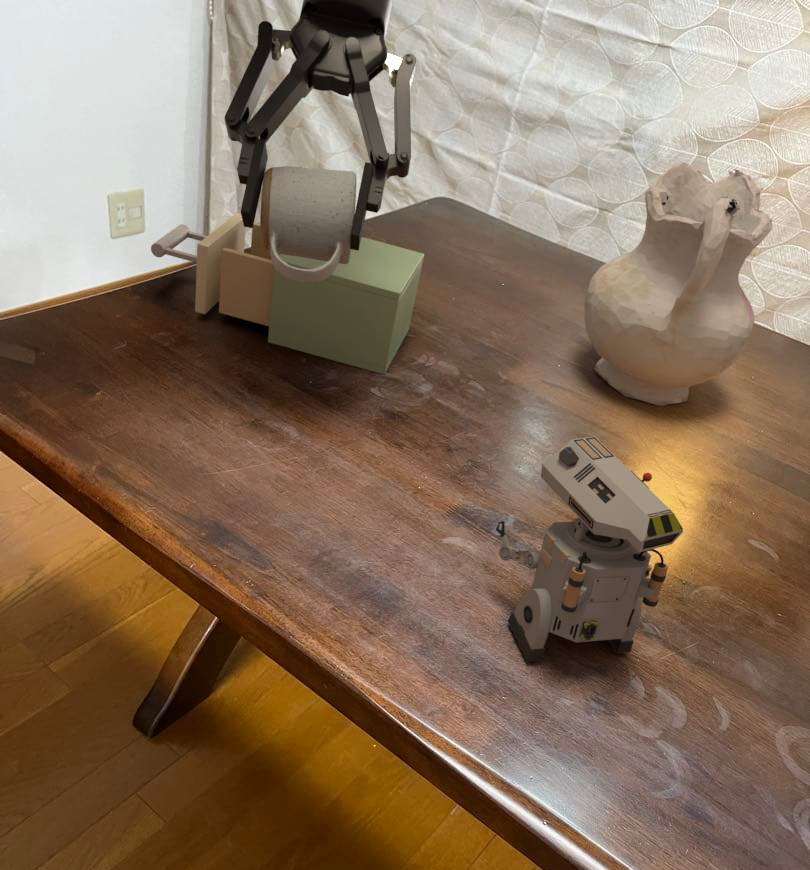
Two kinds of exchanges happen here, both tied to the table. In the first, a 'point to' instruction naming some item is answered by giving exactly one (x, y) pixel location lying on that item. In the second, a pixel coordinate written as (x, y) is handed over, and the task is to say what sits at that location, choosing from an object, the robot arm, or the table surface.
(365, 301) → the cabinet
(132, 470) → the table surface
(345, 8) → the robot arm
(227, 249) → the drawer
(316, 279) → the ceramic mug
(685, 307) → the ceramic pitcher
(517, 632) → the figurine
